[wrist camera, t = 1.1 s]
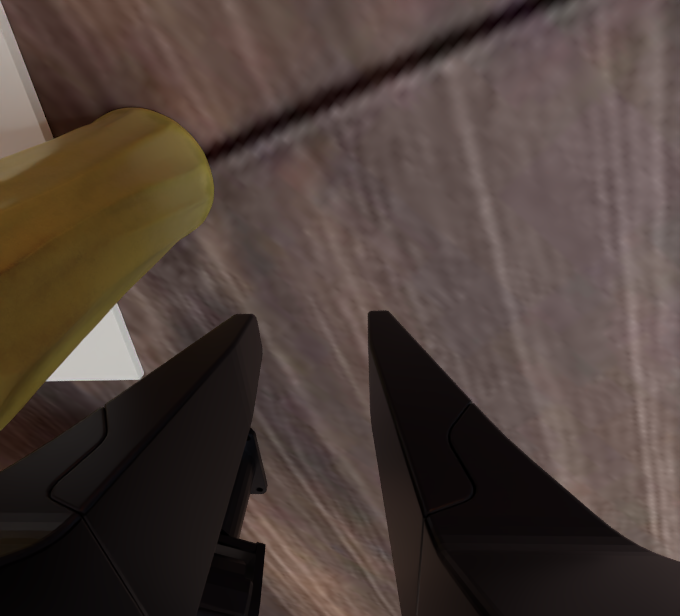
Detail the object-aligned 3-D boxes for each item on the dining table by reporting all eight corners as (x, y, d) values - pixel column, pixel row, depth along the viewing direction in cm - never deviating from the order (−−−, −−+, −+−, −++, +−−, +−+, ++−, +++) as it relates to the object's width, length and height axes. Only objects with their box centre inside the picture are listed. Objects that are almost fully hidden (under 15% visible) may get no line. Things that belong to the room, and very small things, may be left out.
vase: (152, 257, 23) (-81, 505, 11) (57, 155, 20) (-386, 334, 8) (241, 197, 21) (78, 418, 9) (149, 76, 18) (-257, 158, 6)
